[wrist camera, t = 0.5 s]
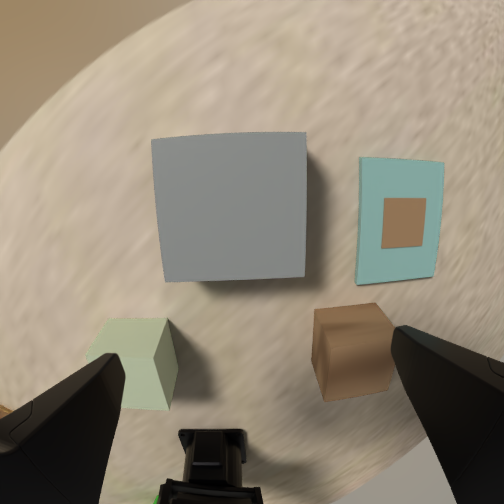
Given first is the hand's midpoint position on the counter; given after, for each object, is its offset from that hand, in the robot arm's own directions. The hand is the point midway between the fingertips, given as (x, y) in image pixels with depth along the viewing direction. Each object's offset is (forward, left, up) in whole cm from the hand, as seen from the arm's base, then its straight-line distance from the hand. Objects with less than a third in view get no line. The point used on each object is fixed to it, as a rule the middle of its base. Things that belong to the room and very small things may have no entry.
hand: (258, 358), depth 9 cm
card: (+1, -11, -12) cm, 17 cm away
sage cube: (-8, +9, -12) cm, 17 cm away
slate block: (+3, +1, -13) cm, 13 cm away
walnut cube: (-8, -7, -12) cm, 16 cm away
